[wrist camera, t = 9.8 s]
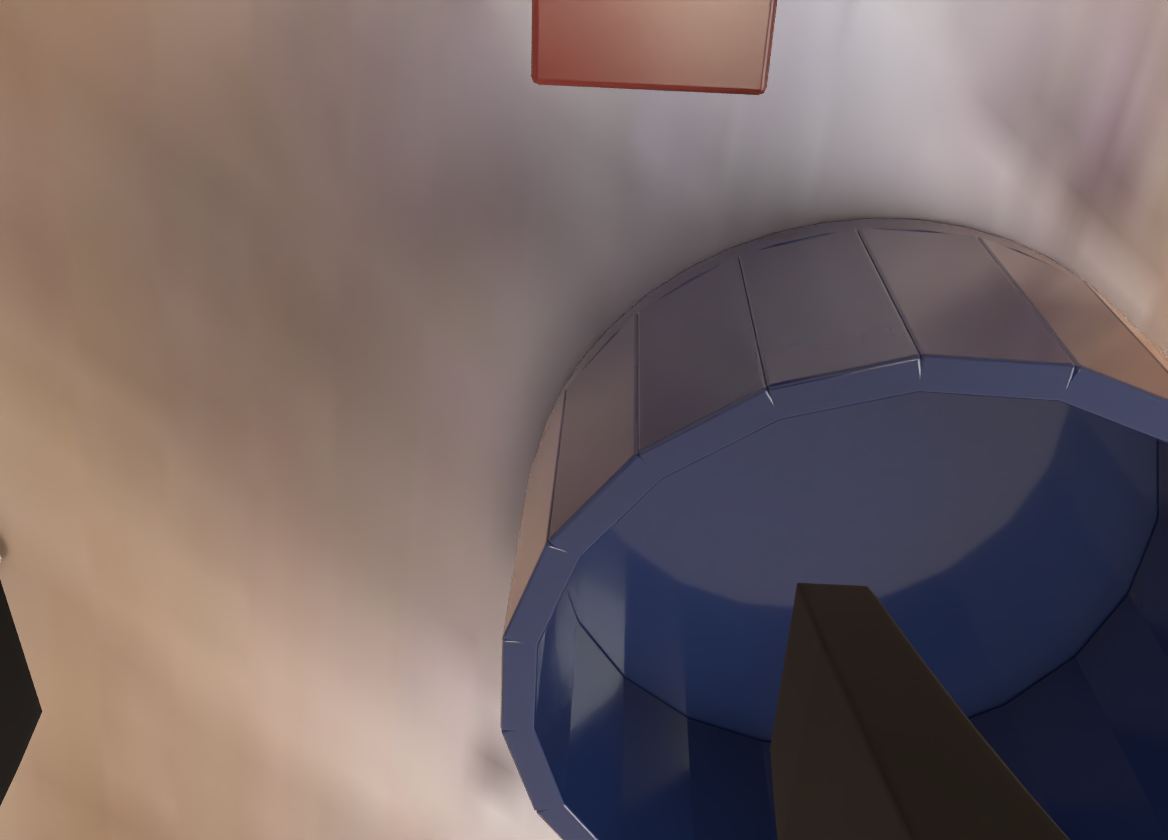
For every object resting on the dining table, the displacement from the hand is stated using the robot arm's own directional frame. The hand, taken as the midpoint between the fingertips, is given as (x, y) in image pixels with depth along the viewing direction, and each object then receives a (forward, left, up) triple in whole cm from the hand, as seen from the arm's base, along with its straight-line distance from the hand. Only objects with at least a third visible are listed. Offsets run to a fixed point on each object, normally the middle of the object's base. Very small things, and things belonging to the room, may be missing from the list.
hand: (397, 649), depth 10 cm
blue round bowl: (+8, +2, -10) cm, 13 cm away
